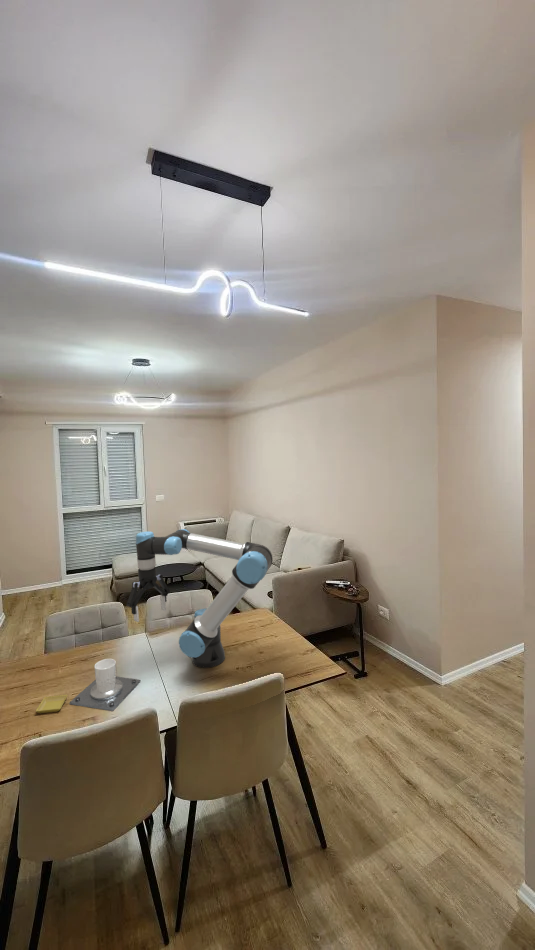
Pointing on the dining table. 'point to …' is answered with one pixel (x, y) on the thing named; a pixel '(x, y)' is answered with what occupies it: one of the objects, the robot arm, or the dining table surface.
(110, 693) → the panel
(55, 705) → the yellow square tray
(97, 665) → the white cup
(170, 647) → the dining table surface
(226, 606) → the robot arm
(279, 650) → the dining table surface
